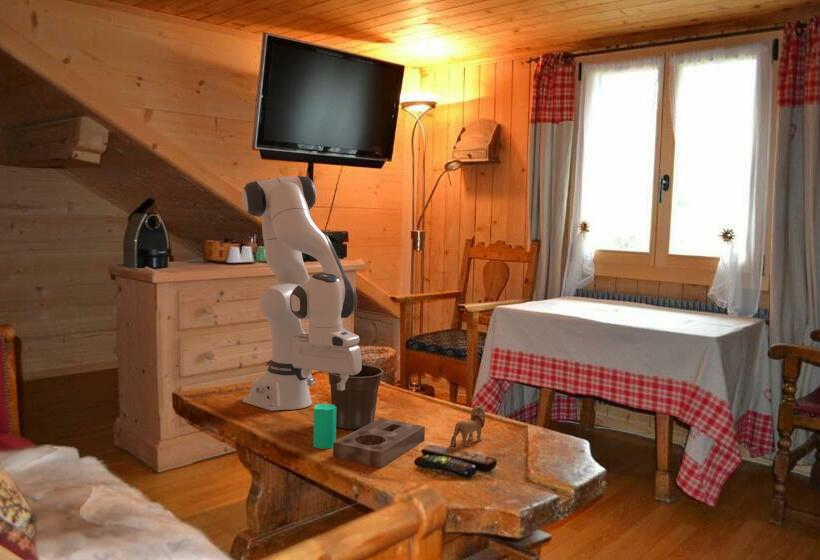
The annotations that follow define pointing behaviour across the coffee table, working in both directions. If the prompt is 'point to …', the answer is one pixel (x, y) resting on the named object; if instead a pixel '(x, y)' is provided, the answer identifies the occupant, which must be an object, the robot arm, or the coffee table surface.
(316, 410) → the candle
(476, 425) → the lion figurine
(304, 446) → the coffee table surface
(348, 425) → the plant pot
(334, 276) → the robot arm
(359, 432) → the socket block
